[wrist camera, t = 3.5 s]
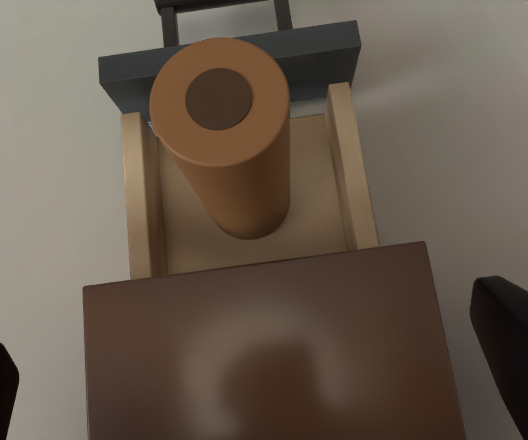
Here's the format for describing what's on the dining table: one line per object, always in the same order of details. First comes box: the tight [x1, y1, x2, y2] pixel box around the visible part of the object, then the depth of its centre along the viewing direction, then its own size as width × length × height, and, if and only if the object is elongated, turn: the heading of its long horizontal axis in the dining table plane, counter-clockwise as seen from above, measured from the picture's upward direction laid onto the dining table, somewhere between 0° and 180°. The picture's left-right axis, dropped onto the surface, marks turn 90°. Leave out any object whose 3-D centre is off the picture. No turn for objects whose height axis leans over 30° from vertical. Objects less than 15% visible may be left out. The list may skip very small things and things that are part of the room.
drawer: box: [98, 0, 379, 280], centre depth 20 cm, size 17×10×4 cm, turn 7°
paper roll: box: [149, 38, 290, 240], centre depth 16 cm, size 3×3×9 cm
